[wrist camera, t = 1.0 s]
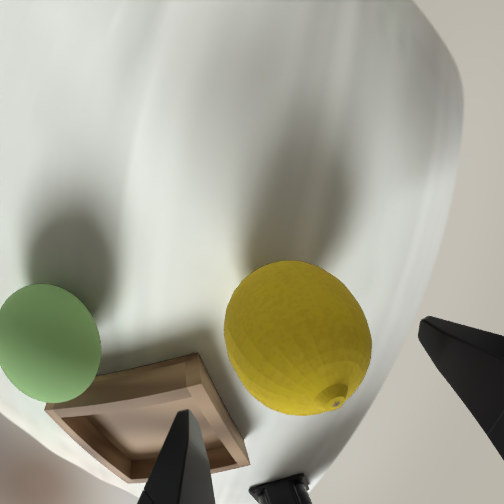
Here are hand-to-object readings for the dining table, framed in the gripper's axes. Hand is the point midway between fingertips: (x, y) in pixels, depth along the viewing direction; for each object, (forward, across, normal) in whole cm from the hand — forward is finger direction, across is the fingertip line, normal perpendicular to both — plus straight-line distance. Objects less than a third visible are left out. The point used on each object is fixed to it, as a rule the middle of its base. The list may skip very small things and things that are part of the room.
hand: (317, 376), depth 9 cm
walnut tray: (+6, +10, +8) cm, 14 cm away
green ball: (+6, +11, -2) cm, 13 cm away
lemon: (+7, 0, 0) cm, 7 cm away
